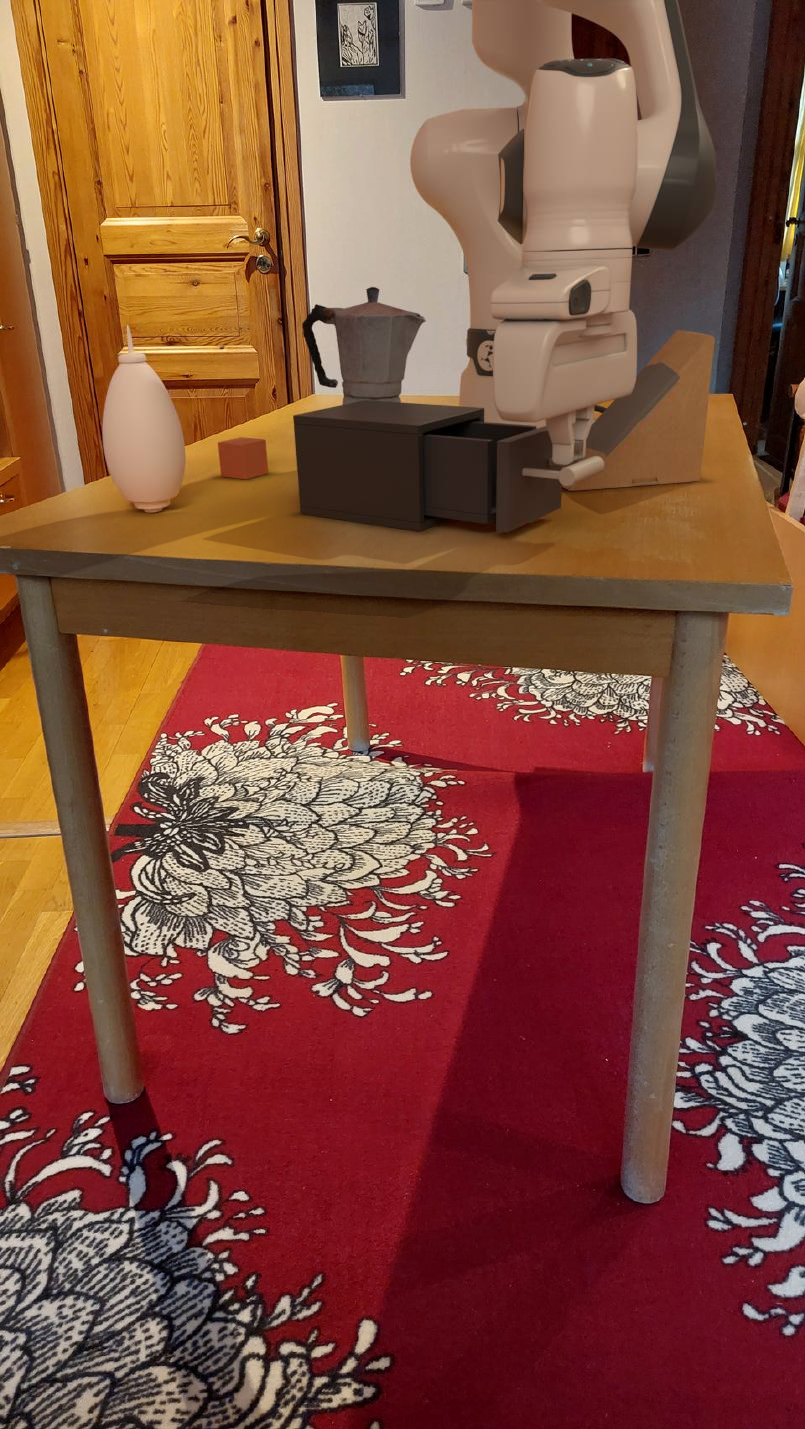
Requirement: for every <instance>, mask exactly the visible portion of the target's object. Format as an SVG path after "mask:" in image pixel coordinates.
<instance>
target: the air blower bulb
mask: <svg viewBox="0 0 805 1429" xmlns="http://www.w3.org/2000/svg"><path fill="white" fill-rule="evenodd" d="M126 341H127V349H128V352H125V353H121V354H119V355H118V358H117V360H118V363H120V364H119V365H118V366H117V368H116V369H115V371H114V373H113V375H112V377H111V380H110V382H109V385H108V389H107V393H106V395H105V400H104V407H103V412H102V413H103V414H102V431H101V432H102V433H101V434H102V447H103V453H104V458H105V463H106V466H107V470H108V473H109V475H110V478H111V479H112V482H113V484H114V486H115V487H116V489H117V491H118V492H119V493H120V495H121V496H122V497H123V499H124V500H125V501H127V502H131V503H133V504H134V507H135V509H139V510H143V512H145V513H158V512H162V511H163V510H164V509H163V508H166V507H168V506H170V505H171V500H172V499H174V498H176V497H177V496H178V495H179V492H180V490H181V488H182V485H183V481H184V478H185V472H186V460H187V459H186V458H187V457H186V444H185V438H184V432H183V429H182V424H181V421H180V418H179V414H178V411H177V409H176V406H175V404H174V401H173V400H172V397H171V395H170V394H169V391H168V390H167V388H166V386H165V384H164V383H163V381H162V379H161V377H160V376H159V375H158V374H157V373H156V371H155V370H154V369H153V368H152V367H151V365H149V363H147V362H146V361H147V356H146V354H145V353H143V352H135V349H134V343H133V338H132V333H131V329H130V326H129V324H127V325H126Z"/></svg>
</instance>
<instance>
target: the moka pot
mask: <svg viewBox="0 0 805 1429" xmlns="http://www.w3.org/2000/svg"><path fill="white" fill-rule="evenodd" d="M365 290H366V298H367V302H363V303H360V304H355V305H352V306H348V307H344V308H343V307H327V306H324V305H320V304H318V303H316V304H315V305H314V307H313V308H312V309H311V312H310V313H308V314H307V315H306V317H305V319H304V321H303V322H302V324H301V325H302V326H301V327H302V335H303V337H304V340H305V343H306V346H307V348H308V351H309V356H310V357H311V361H312V364H313V365H314V366H313V367H314V371H315V373H316V377H317V380H318V383H319V385H320V386H322V387H326V388H331V389H332V388H333V389H337V386H338V384H339V381H338V380H337V379H335V378H332V379H331V378H328V377H327V374H326V371H325V369H324V366H323V362H322V358H321V352H320V350H319V347H318V344H317V339H316V337H315V333H314V331H313V326H314V324H315V323H316V322H319V321H320V322H321V323H323V324H325V325H333V326H334V328H335V334H336V342H337V350H338V361H339V367H340V368H339V369H340V376H341V379H342V382H341V387H342V394H343V398H342V404H341V405H345V404H349V403H354V402H359V401H363V400H371V401H386V402H402V401H401V400H402V399H401V397H400V395H401V394H402V382H403V380H404V379H405V374H406V367H407V360H408V355H409V353H410V351H411V350H412V346H413V344H414V342H415V339H416V337H417V334H418V333H419V330H420V328H421V326H422V324H424V323H426V322H427V320H426V318H425V317H424V315H423V316H422V315H421V314H420V313H418V312H413V311H410V310H405V309H402V308H399V307H395V306H392V305H388V304H384V303H382V302H379V301H378V300H379V294H380V288H379V287H375V286H369V287H368V288H366V289H365Z"/></svg>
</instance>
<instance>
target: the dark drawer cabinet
mask: <svg viewBox="0 0 805 1429" xmlns="http://www.w3.org/2000/svg"><path fill="white" fill-rule="evenodd" d="M292 419H293V432H294V444H295V445H294V446H295V447H294V448H295V457H296V458H295V460H296V472H297V474H296V475H297V485H298V498H299V512H300V513H299V514H301V515H307V516H312V517H313V516H314V517H321V518H325V519H326V518H328V519H334V520H340V521H345V522H346V521H347V522H352V523H361V524H365V525H374V526H378V527H379V526H381V527H387V528H394V529H400V530H406V531H414V532H422V531H425V530H428V529H430V528H432V527H435V526H438V525H440V524H442V523H445V522H448V521H449V520H451V519H447V518H440V517H433V516H426V515H424V480H423V434H422V433H425V432H429V431H432V430H436V429H439V428H443V427H447V426H450V425H454V424H458V423H461V422H465V421H476V422H484V408H477V407H462V406H459V405H448V404H447V405H446V404H432V403H431V404H429V403H416V402H415V403H414V402H402V401H401V402H386V401H371V400H363V401H359V402H354V403H349V404H345V405H342V404H341V405H336V406H331V407H327V408H322V409H316V410H311V411H308V412H303V413H298V414H294V415H293V417H292Z"/></svg>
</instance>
